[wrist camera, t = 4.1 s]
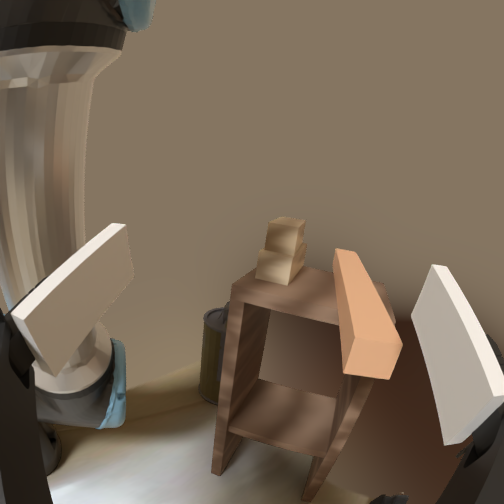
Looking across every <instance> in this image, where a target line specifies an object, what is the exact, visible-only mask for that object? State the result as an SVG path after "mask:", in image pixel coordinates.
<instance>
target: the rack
mask: <svg viewBox="0 0 504 504" xmlns="http://www.w3.org/2000/svg"><path fill="white" fill-rule="evenodd" d="M305 222H306V221H305V220H299V219H294V218H288V217H280V218H278V219H275V220H273V221H270V222H269V223H268V230H267V236H266V243H265V248H263V249H261V250H260V251H259V255H258V261H257V267H256V268H255V269H253V270H252V271H251V272H249V273H248V274H246V275H245V276H243V277H242V278H240V279H239V280H237V281H236V282H235V283H233V284H232V289H231V297H230V305H229V313H228V321H227V330H226V338H225V347H224V355H223V364H222V373H221V382H220V391H219V400H218V410H217V419H216V429H215V439H214V449H213V459H212V469H211V473H213V474H216V475H218V476H220V475H221V474H222V472H223V470H224V469H225V467H226V465H227V464H228V462H229V460H230V459H231V457H232V455H233V454H234V452H235V450H236V448H237V447H238V445H239V443H240V441H241V440H242V438H243V436H244V437H247V438H250V439H253V440H256V441H259V442H262V443H266V444H269V445H273V446H276V447H280V448H283V449H287V450H291V451H295V452H299V453H303V454H307V455H312V456H314V457H313V461H312V464H311V468H310V471H309V475H308V478H307V482H306V485H305V489H304V492H303V495H302V498H301V500H303V501H307V502H311V500H312V499H313V497H314V496H315V494H316V493H317V491H318V490H319V488H320V486H321V485H322V483H323V482H324V480H325V478H326V477H327V475H328V473H329V471H330V470H331V468H332V466H333V465H334V463H335V461H336V459H337V457H338V455H339V454H340V452H341V450H342V448H343V446H344V444H345V443H346V441H347V439H348V437H349V435H350V433H351V431H352V429H353V427H354V425H355V423H356V420H357V418H358V416H359V414H360V412H361V410H362V408H363V406H364V403H365V401H366V399H367V397H368V394H369V392H370V390H371V387H372V385H373V383H374V380H375V378H373V377H365V376H358V375H351V374H345V376H344V379H343V382H342V385H341V387H340V390H339V392H338V395H337V398H331V397H326V396H322V395H318V394H313V393H309V392H305V391H301V390H297V389H293V388H290V387H286V386H282V385H278V384H275V383H271V382H268V381H265V380H261V379H258V377H259V371H260V366H261V361H262V356H263V350H264V345H265V339H266V334H267V328H268V322H269V317H270V311H271V309H272V310H277V311H281V312H285V313H289V314H293V315H297V316H301V317H305V318H310V319H314V320H318V321H323V322H327V323H332V324H336V325H339V315H338V306H337V297H336V288H335V280H334V273H333V272H327V271H323V270H319V269H314V268H309V267H304V266H303V264H304V259H305V253H306V248H307V244H306V243H302V240H303V235H304V228H305ZM372 283H373V285H374V287H375V289H376V291H377V293H378V295H379V296H380V298H381V300H382V302H383V304H384V306H385V308H386V310H387V312H388V314H389V316H390V318H391V320H392V322H393V325H394V326H395V323H396V320H395V317H394V314H393V311H392V308H391V305H390V301H389V298H388V295H387V292H386V289H385V287H384V284H383V283H380V282H375V281H372Z"/></svg>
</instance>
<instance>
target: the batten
mask: <svg viewBox="0 0 504 504" xmlns="http://www.w3.org/2000/svg"><path fill="white" fill-rule="evenodd" d="M333 272H334V280H335V288H336V297H337V306H338V315H339V326H340V336H341V349H342V362H343V373H345V374H351V375H358V376H365V377H373V378H381V379H389V378H390V376H391V373H392V371H393V369H394V366H395V364H396V361H397V359H398V356H399V353H400V351H401V348H402V346H403V344H402V341H401V339H400V337H399V335H398V333H397V331H396V329H395V327H394V325H393V322H392V320H391V318H390V316H389V314H388V312H387V310H386V308H385V306H384V304H383V302H382V300H381V298H380V296H379V295H378V293H377V291H376V289H375V287H374V285H373V283H372V281H371V279H370V278H369V276H368V274H367V272H366V270H365V268H364V266H363V264H362V263H361V261H360V259H359V257H358V256H357V254H356V252H353V251H347V250H342V249H337V248H336V250H335V255H334V260H333Z"/></svg>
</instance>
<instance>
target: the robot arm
mask: <svg viewBox="0 0 504 504" xmlns="http://www.w3.org/2000/svg"><path fill="white" fill-rule="evenodd" d="M155 4H156V0H0V285H1V288H2V292H3V295H4V298H5V301H6V304H7V306H8V309H9V312H8V313H7V314H6V315H5V314H3V313H2V310H1V308H0V504H53V502H52V498H51V494H50V490H49V486H48V482H47V477H46V476H47V475H48V474H50V473H51V472H52V471H53V470H54V469H55V468H56V466H57V465H58V463H59V461H60V458H61V452H62V448H61V442H60V439H59V437H58V434H57V432H56V430H55V428H54V426H53V425H52V424H59V425H68V426H78V427H92V428H95V429H103V428H117V427H120V426H121V425H122V424H123V423H124V421H125V417H126V396H125V394H126V358H125V347H124V344H123V343H122V342H121V341H119V340H115V339H112V338H110V337H109V334H108V332H107V330H106V328H105V327H104V326H103V325H102V323H101V322H100V321H99V319H100V318H101V317H102V316H103V314H104V313H105V312H106V311H107V309H108V308H109V307H110V306H111V304H112V303H113V302H114V301H115V299H116V298H117V297H118V296H119V295H120V293H121V292H122V291H123V290H124V289H125V287H126V286H127V285H128V284H129V283H130V281H131V280H132V279H133V278H134V271H133V265H132V259H131V253H130V247H129V241H128V235H127V228H126V224H116V223H112V224H111V225H109V226H108V227H107V228H106V229H104V230H103V231H102V232H100V233H99V234H98V235H97V236H96V237H94V238H93V239H92V240H90V241H89V242H88V243H87V244H85V220H84V179H85V178H84V177H85V157H86V142H87V130H88V120H89V112H90V104H91V97H92V90H93V84H94V80H95V78H96V77H97V75H98V74H99V73H100V72H101V71H102V70H103V69H105V68H106V67H107V66H108V65H110V64H111V63H112V62H113V61H115V60H116V59H117V58H119V57H120V56H121V52H122V47H123V44H124V40H125V36H126V33H127V31H132V32H138V31H140V30H145V29H147V28H148V27H149V26H150V25H151V22H152V19H153V12H154V7H155ZM411 317H412V320H413V323H414V326H415V329H416V332H417V335H418V338H419V342H420V345H421V348H422V352H423V355H424V358H425V362H426V366H427V369H428V373H429V377H430V380H431V385H432V389H433V393H434V397H435V401H436V406H437V410H438V414H439V420H440V425H441V430H442V435H443V441H444V445H450V444H455V443H461V442H463V441H464V440H465V439H466V438H467V437H468V436H470V434H472V436H473V441H472V442H471V443H470V444H469V445H468V446H466V447H465V448H464V449H463V450H461V451H460V452H459V453H458V454H457V456H456V457H457V458H458V457H460V456H461V455H462V454H463V453H465V454H464V456H463V457H462V459H461V461H460V463H459V465H458V467H457V469H456V471H455V473H454V474H453V476H452V478H451V480H450V481H449V483H448V485H447V486H446V488H445V490H444V491H443V493H442V495H441V496H440V498H439V499H438V501H437V502H436V504H504V359H503V357H501V355H502V354H501V352H500V350H499V348H498V346H497V344H496V343H495V342H494V341H493V339H491V337H490V336H489V335H486V334H485V333H484V331H483V329H482V328H481V326H480V324H479V322H478V320H477V318H476V316H475V314H474V312H473V311H472V309H471V307H470V305H469V303H468V302H467V300H466V298H465V296H464V295H463V293H462V291H461V289H460V288H459V286H458V285H457V283H456V281H455V279H454V278H453V276H452V275H451V273H450V271H449V270H448V268H447V267H446V266H440V265H433V264H432V266H431V268H430V271H429V274H428V276H427V279H426V281H425V284H424V286H423V289H422V291H421V294H420V296H419V298H418V301H417V303H416V305H415V308H414V310H413V312H412V314H411Z"/></svg>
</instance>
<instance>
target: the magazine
mask: <svg viewBox="0 0 504 504" xmlns="http://www.w3.org/2000/svg"><path fill="white" fill-rule="evenodd" d="M403 494H404V493H403V492H402V493H398V494H396V495H393V496H391V497H388V496H385V495H381V496H379V497H378V498H376V499H375V500H373V501H371V502H370V504H406V502H407V500H408V497H409V496H407V495H403Z"/></svg>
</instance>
